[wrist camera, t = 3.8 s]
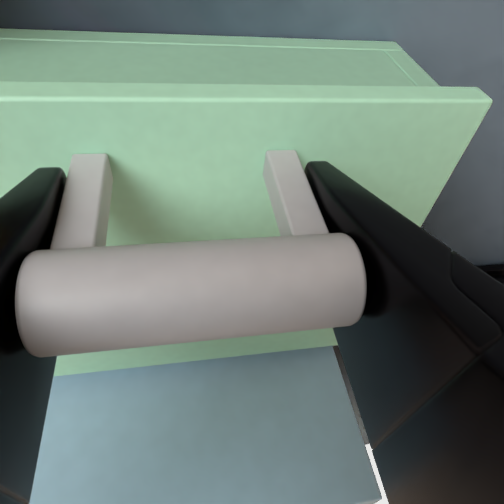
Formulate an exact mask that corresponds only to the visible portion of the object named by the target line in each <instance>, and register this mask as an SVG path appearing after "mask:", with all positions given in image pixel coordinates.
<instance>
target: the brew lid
mask: <svg viewBox="0 0 504 504" xmlns="http://www.w3.org/2000/svg"><path fill="white" fill-rule="evenodd" d="M491 104H492V99H491V98H490V97H489V96H487V95H486V94H485V93H484V92H483V91H482V90H480V89H479V88H478V87H429V86H346V85H264V84H181V83H98V82H16V81H0V198H1V197H2V196H3V195H5V194H6V193H7V192H9V191H10V190H11V189H12V188H14V187H15V186H16V185H17V184H19V183H20V182H21V181H22V180H24V179H25V178H26V177H27V176H29V175H30V174H31V173H32V172H34V171H35V170H36V169H38V168H41V167H60V168H62V169H63V171H64V172H65V174H66V177H67V179H66V184H65V188H64V192H63V196H62V200H61V205H60V209H59V213H58V217H57V221H56V226H55V230H54V234H53V238H52V243H51V247H50V250H36V251H34V252H32V253H30V254H28V255H27V256H26V257H25V259H24V260H23V262H22V264H21V266H20V269H19V273H18V277H17V282H16V290H15V314H16V322H17V327H18V332H19V335H20V338H21V341H22V343H23V345H24V347H25V349H26V350H27V351H28V353H30V354H31V355H33V356H36V357H51V356H57V360H56V365H55V370H54V375H53V377H54V376H63V375H72V374H81V373H90V372H99V371H108V370H117V369H126V368H135V367H144V366H153V365H163V364H172V363H181V362H190V361H199V360H208V359H217V358H226V357H235V356H244V355H253V354H262V353H271V352H280V351H289V350H298V349H307V348H316V347H325V346H334V345H338V343H337V340H336V337H335V334H334V331H333V328H335V327H345V326H351V325H353V324H355V323H356V322H358V321H359V319H360V318H361V316H362V314H363V311H364V308H365V303H366V294H367V282H366V272H365V267H364V262H363V259H362V256H361V253H360V250H359V248H358V246H357V244H356V243H355V241H354V240H353V239H352V238H351V237H350V236H348V235H346V234H344V233H329V231H328V228H327V226H326V224H325V221H324V219H323V216H322V214H321V211H320V209H319V206H318V204H317V201H316V199H315V197H314V194H313V192H312V189H311V187H310V184H309V182H308V179H307V177H306V174H305V172H304V170H305V166H306V164H307V163H308V162H309V161H327V162H329V163H330V164H331V165H333V166H334V167H336V168H337V169H339V170H340V171H341V172H343V173H344V174H346V175H347V176H348V177H350V178H351V179H353V180H354V181H356V182H357V183H358V184H360V185H361V186H363V187H364V188H365V189H367V190H368V191H370V192H371V193H373V194H374V195H375V196H377V197H378V198H380V199H381V200H382V201H384V202H385V203H387V204H388V205H390V206H391V207H392V208H394V209H395V210H397V211H398V212H399V213H401V214H402V215H404V216H405V217H407V218H408V219H409V220H411V221H412V222H414V223H415V224H416V225H418V226H419V227H421V226H422V224H423V222H424V220H425V219H426V217H427V215H428V213H429V212H430V210H431V208H432V207H433V205H434V203H435V201H436V200H437V198H438V196H439V194H440V193H441V191H442V189H443V187H444V186H445V184H446V182H447V181H448V179H449V177H450V175H451V174H452V172H453V170H454V168H455V167H456V165H457V163H458V162H459V160H460V158H461V156H462V155H463V153H464V151H465V149H466V148H467V146H468V144H469V143H470V141H471V139H472V137H473V136H474V134H475V132H476V130H477V129H478V127H479V125H480V124H481V122H482V120H483V118H484V117H485V115H486V113H487V111H488V110H489V108H490V106H491Z"/></svg>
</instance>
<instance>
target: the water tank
mask: <svg viewBox="0 0 504 504" xmlns="http://www.w3.org/2000/svg"><path fill="white" fill-rule="evenodd" d="M381 499H382V496H381V493H380V490H379V487H378V484H377V481H376V478H375V475H374V472H373V469H372V466H371V463H370V459H369V456H368V454H367V450H366V447H365V444H364V441H363V438H362V435H361V432H360V429H359V426H358V423H357V420H356V417H355V414H354V411H353V408H352V405H351V401H350V398H349V395H348V392H347V389H346V386H345V383H344V380H343V377H342V374H341V371H340V368H339V365H338V362H337V359H336V356H335V353H334V350H333V347H332V346H325V347H316V348H307V349H298V350H289V351H280V352H271V353H262V354H253V355H244V356H235V357H226V358H217V359H208V360H199V361H190V362H181V363H172V364H163V365H153V366H144V367H135V368H126V369H117V370H108V371H99V372H90V373H81V374H72V375H63V376H54V377H53V381H52V386H51V391H50V397H49V402H48V407H47V413H46V418H45V423H44V428H43V434H42V439H41V444H40V450H39V455H38V460H37V466H36V471H35V476H34V481H33V487H32V492H31V497H30V502H29V504H374V503H375V502H378V501H379V500H381Z"/></svg>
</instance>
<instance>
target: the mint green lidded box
mask: <svg viewBox="0 0 504 504" xmlns="http://www.w3.org/2000/svg"><path fill="white" fill-rule="evenodd" d="M0 81H16V82H98V83H181V84H264V85H346V86H429V87H440V86H439V85H438V84H437V83H436V82H435V81H434V80H433V79H432V78H431V77H430V76H429V75H428V74H427V73H426V72H425V71H424V70H423V69H422V68H421V67H420V66H419V65H418V64H417V63H416V62H415V61H414V60H413V59H412V58H411V57H410V56H409V55H408V54H407V53H406V52H405V51H403V49H402V48H401V47H400V46H399V45H398V44H397V43H396V42H387V41H357V40H328V39H298V38H268V37H239V36H209V35H179V34H149V33H120V32H90V31H60V30H30V29H1V28H0Z"/></svg>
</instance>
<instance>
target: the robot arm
mask: <svg viewBox="0 0 504 504" xmlns="http://www.w3.org/2000/svg"><path fill="white" fill-rule="evenodd" d="M304 172H305V174H306V177H307V179H308V182H309V184H310V187H311V189H312V192H313V194H314V197H315V199H316V201H317V204H318V206H319V209H320V211H321V214H322V216H323V219H324V221H325V224H326V226H327V228H328V231H329V233H344V234H346V235H348V236H350V237H351V238H352V239H353V240H354V241H355V243H356V244H357V246H358V248H359V250H360V253H361V256H362V259H363V262H364V267H365V272H366V282H367V294H366V303H365V308H364V311H363V314H362V316H361V318H360V319H359V321H358V322H356V323H355V324H353V325H351V326H345V327H335V328H333V331H334V334H335V337H336V340H337V343H338V346H339V349H340V352H341V356H342V359H343V362H344V365H345V368H346V371H347V374H348V377H349V380H350V383H351V387H352V390H353V393H354V396H355V399H356V402H357V405H358V408H359V411H360V414H361V418H362V421H363V424H364V427H365V430H366V433H367V436H368V439H369V442H370V446H371V448H372V449H373V450H372V452H373V456H374V459H375V462H376V465H377V468H378V471H379V474H380V477H381V480H382V483H383V487H384V490H385V492H386V496H387V499H388V502H389V504H504V264H501V265H488V266H475V265H473V264H472V263H470V262H469V261H468V260H466V259H465V258H463V257H462V256H460V255H459V254H458V253H456V252H454V251H453V252H451V249H450V248H449V247H448V246H446V245H445V244H443V243H442V242H440V241H439V240H438V239H436V238H435V237H433V236H432V235H431V234H429V233H428V232H426V231H425V230H424V229H422V228H421V227H419V226H418V225H416V224H415V223H414V222H412V221H411V220H409V219H408V218H407V217H405V216H404V215H402V214H401V213H399V212H398V211H397V210H395V209H394V208H392V207H391V206H390V205H388V204H387V203H385V202H384V201H382V200H381V199H380V198H378V197H377V196H375V195H374V194H373V193H371V192H370V191H368V190H367V189H365V188H364V187H363V186H361V185H360V184H358V183H357V182H356V181H354V180H353V179H351V178H350V177H348V176H347V175H346V174H344V173H343V172H341V171H340V170H339V169H337V168H336V167H334V166H333V165H331V164H330V163H329V162H327V161H309V162H308V163H307V164H306V166H305V170H304ZM66 179H67V177H66V174H65V172H64V171H63V169H62V168H60V167H41V168H38V169H36V170H35V171H34V172H32V173H31V174H30V175H29V176H27V177H26V178H25V179H24V180H22V181H21V182H20V183H19V184H17V185H16V186H15V187H14V188H12V189H11V190H10V191H9V192H7V193H6V194H5V195H3V196H2V197H1V198H0V504H29V502H30V497H31V492H32V487H33V481H34V476H35V471H36V466H37V460H38V455H39V450H40V444H41V439H42V434H43V428H44V423H45V418H46V413H47V407H48V402H49V397H50V391H51V386H52V381H53V375H54V370H55V365H56V360H57V356H51V357H36V356H33V355H31V354H30V353H28V351H27V350H26V349H25V347H24V345H23V343H22V341H21V338H20V335H19V332H18V327H17V322H16V314H15V290H16V282H17V277H18V273H19V269H20V266H21V264H22V262H23V260H24V259H25V257H26V256H27V255H28V254H30V253H32V252H34V251H36V250H50V247H51V243H52V238H53V234H54V230H55V226H56V221H57V217H58V213H59V209H60V205H61V200H62V196H63V192H64V188H65V184H66Z"/></svg>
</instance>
